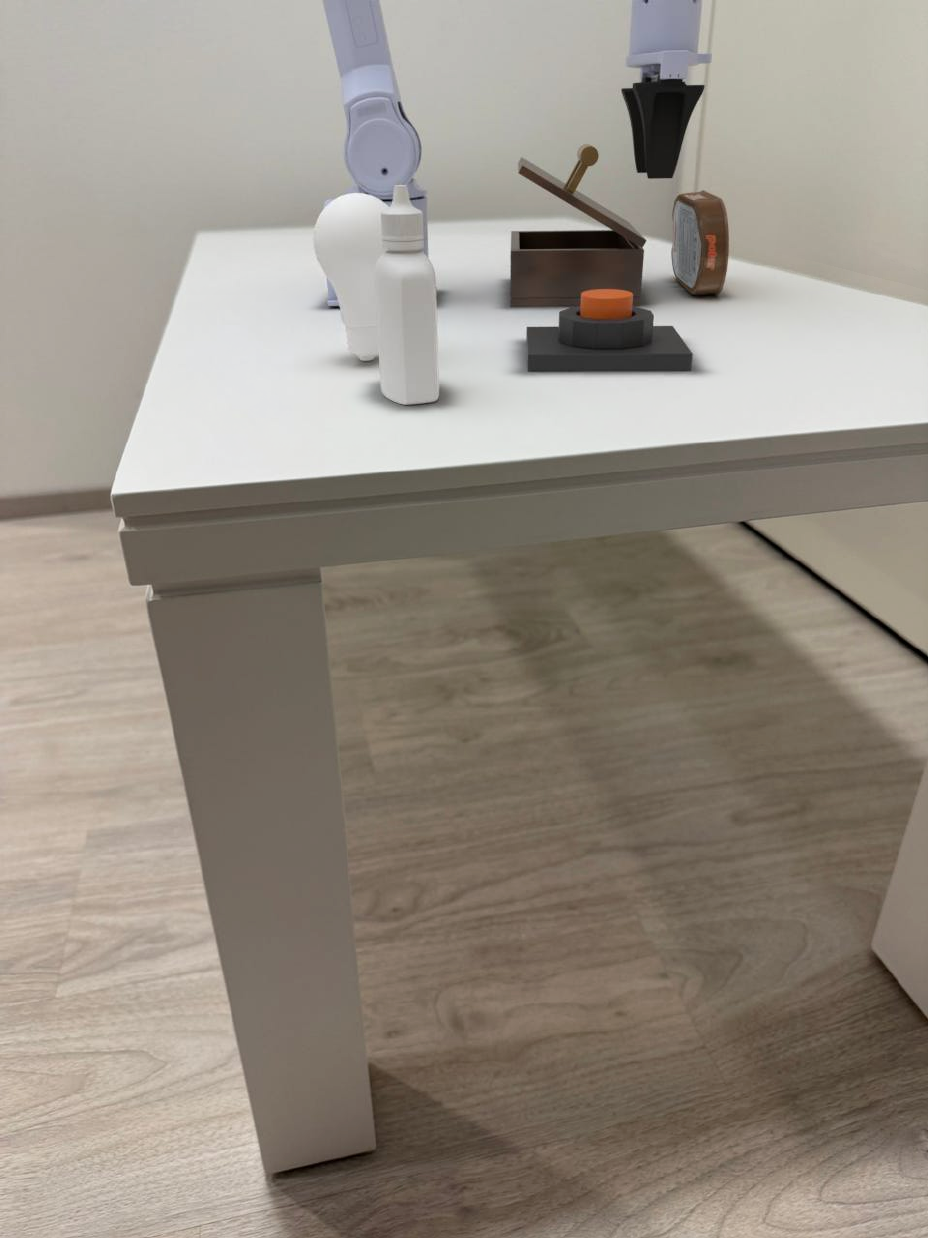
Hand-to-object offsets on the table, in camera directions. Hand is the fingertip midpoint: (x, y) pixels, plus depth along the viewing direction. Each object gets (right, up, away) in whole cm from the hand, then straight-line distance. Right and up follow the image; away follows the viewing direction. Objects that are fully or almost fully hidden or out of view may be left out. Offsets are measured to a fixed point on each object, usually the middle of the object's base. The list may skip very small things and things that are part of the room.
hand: (653, 175), depth 83 cm
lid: (-7, -1, +3) cm, 7 cm away
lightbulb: (-24, -21, -16) cm, 36 cm away
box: (-7, -8, +7) cm, 12 cm away
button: (-7, -18, -17) cm, 26 cm away
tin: (+5, -7, +8) cm, 12 cm away
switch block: (-7, -21, -16) cm, 27 cm away
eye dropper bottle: (-20, -26, -24) cm, 41 cm away
